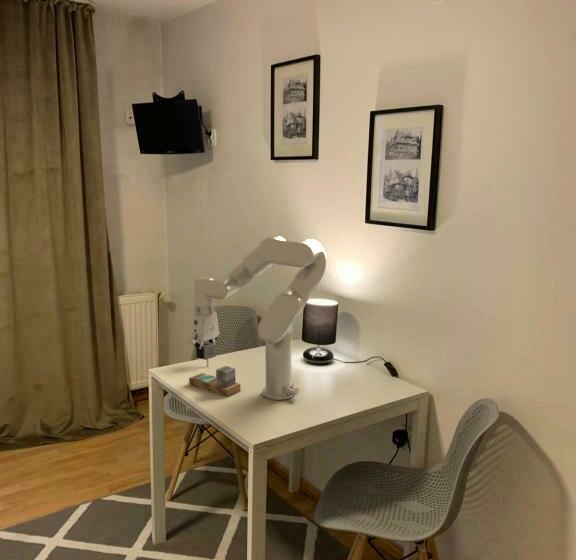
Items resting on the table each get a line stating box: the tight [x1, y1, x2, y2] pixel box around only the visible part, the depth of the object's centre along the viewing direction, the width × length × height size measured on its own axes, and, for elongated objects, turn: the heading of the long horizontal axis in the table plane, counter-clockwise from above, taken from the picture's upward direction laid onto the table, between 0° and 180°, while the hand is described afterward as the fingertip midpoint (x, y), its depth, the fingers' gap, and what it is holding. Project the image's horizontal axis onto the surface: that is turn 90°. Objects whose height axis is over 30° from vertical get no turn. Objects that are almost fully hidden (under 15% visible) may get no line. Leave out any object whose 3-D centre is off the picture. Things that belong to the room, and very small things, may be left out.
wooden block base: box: [188, 365, 241, 398], centre depth 214 cm, size 20×7×9 cm, turn 54°
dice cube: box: [198, 342, 216, 361], centre depth 215 cm, size 5×5×5 cm
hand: (205, 355), depth 215 cm, fingers closed on dice cube, 5 cm apart
